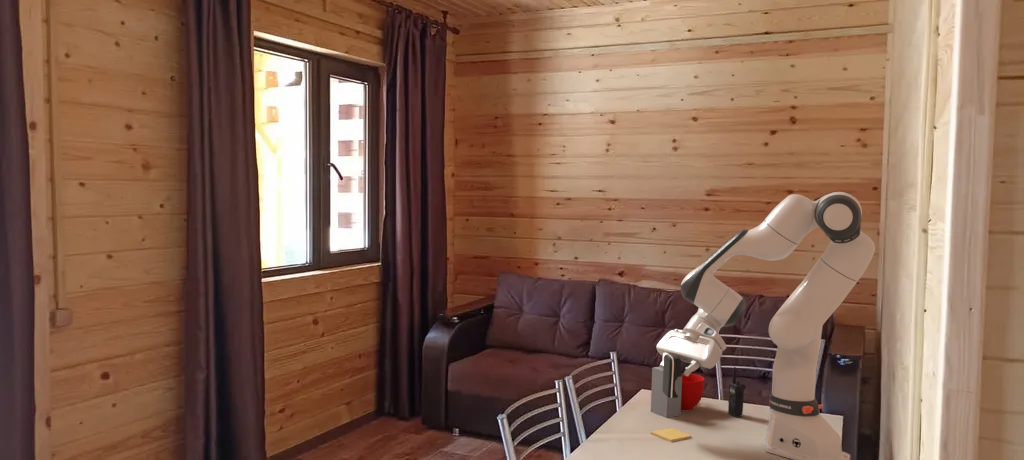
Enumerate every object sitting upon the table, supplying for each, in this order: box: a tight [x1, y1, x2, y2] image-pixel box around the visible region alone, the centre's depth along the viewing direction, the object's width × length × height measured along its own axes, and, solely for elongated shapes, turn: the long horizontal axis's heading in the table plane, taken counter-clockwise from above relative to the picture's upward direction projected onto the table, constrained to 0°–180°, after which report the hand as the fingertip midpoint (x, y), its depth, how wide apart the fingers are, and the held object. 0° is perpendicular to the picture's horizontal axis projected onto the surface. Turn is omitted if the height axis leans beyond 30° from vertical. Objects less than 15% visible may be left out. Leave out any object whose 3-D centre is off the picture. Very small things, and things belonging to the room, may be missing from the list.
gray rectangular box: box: [650, 366, 682, 418], centre depth 237 cm, size 7×6×15 cm
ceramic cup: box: [681, 372, 706, 412], centre depth 245 cm, size 13×17×10 cm
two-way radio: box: [727, 366, 746, 418], centre depth 237 cm, size 6×4×15 cm
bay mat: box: [650, 427, 692, 443], centre depth 215 cm, size 8×8×1 cm
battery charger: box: [662, 354, 683, 398], centre depth 214 cm, size 7×4×11 cm, turn 4°
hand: (673, 371), depth 214 cm, fingers closed on battery charger, 7 cm apart
